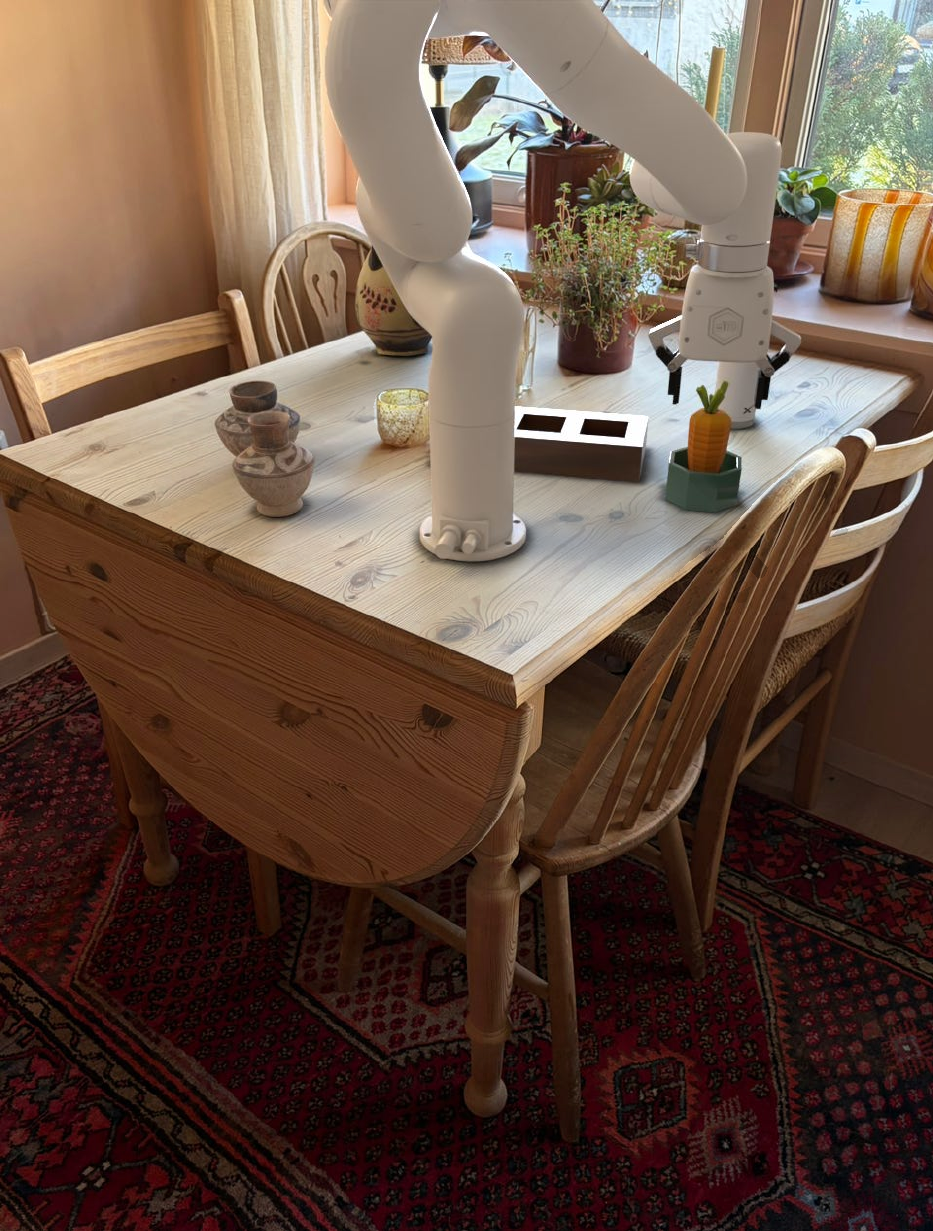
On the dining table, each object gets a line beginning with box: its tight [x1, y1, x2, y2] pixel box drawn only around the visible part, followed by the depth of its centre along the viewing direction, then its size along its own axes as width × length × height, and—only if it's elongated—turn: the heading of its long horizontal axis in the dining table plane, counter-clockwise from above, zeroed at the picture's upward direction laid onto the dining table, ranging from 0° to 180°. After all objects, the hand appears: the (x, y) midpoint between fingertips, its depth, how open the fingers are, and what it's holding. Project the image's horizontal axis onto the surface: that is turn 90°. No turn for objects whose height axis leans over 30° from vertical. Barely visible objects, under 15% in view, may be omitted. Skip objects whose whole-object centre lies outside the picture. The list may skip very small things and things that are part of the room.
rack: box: [514, 406, 650, 483], centre depth 135 cm, size 11×28×5 cm, turn 77°
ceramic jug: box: [354, 245, 432, 357], centre depth 170 cm, size 17×15×30 cm
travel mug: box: [713, 283, 779, 430], centre depth 142 cm, size 6×7×20 cm
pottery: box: [214, 380, 315, 518], centre depth 127 cm, size 11×25×12 cm, turn 19°
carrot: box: [687, 380, 731, 473], centre depth 122 cm, size 5×5×15 cm
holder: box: [664, 446, 743, 513], centre depth 125 cm, size 9×9×5 cm
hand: (716, 402), depth 119 cm, fingers open, 9 cm apart
